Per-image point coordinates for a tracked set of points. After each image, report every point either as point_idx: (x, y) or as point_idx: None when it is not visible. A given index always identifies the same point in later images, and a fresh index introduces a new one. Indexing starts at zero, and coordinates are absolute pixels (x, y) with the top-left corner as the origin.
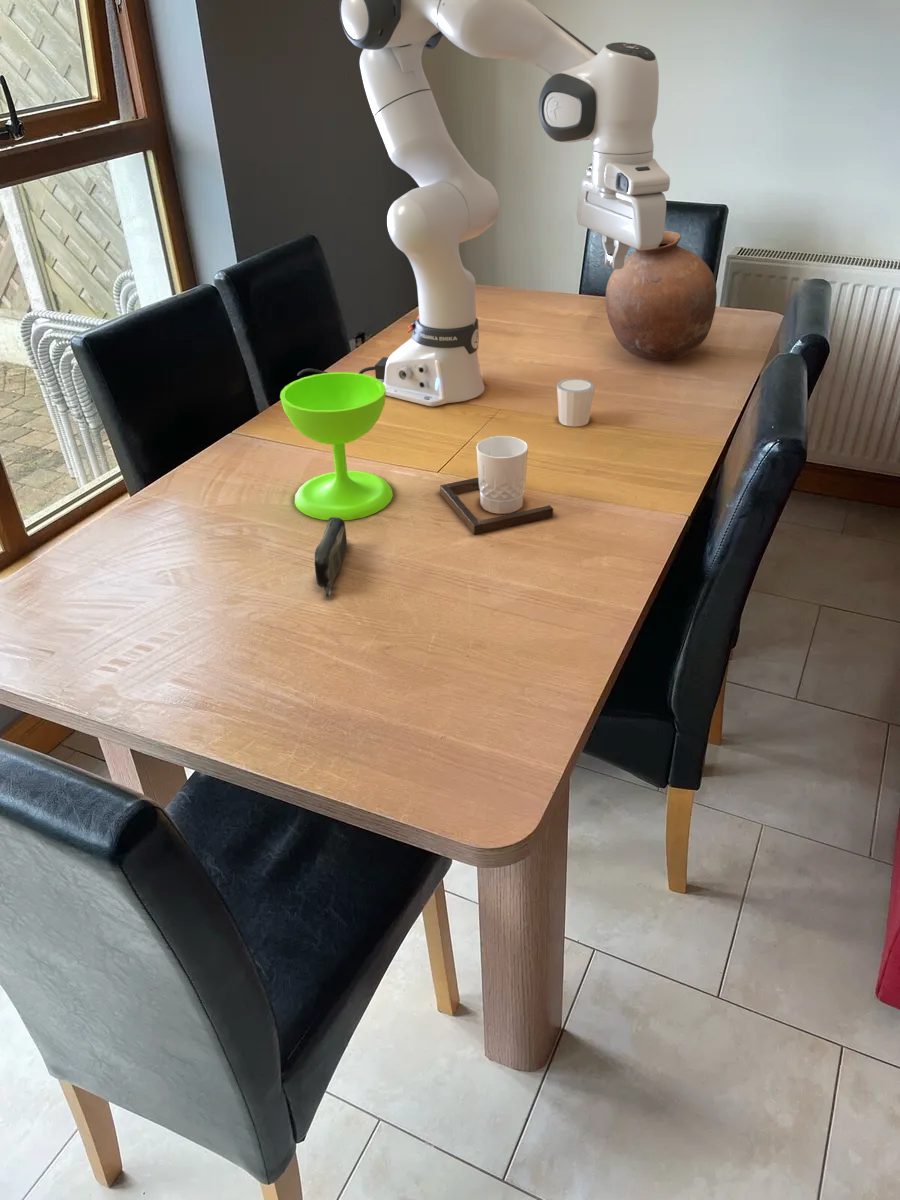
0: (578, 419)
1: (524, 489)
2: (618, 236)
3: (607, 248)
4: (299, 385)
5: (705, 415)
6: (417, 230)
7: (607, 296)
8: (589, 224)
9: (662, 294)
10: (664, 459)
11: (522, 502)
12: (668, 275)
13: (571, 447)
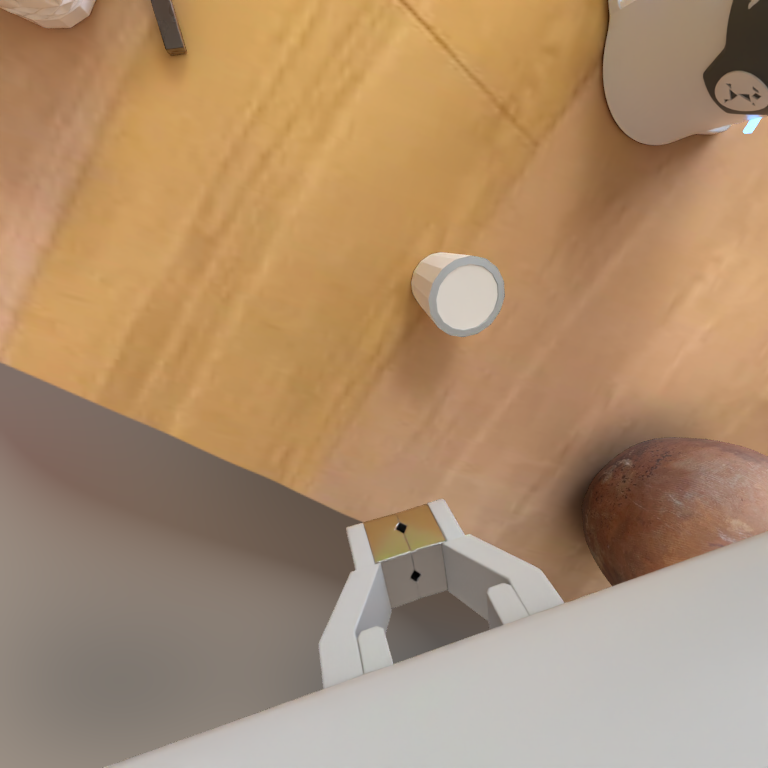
0: (414, 284)
1: (8, 11)
2: (251, 757)
3: (470, 567)
4: None
5: (393, 492)
6: None
7: (755, 459)
8: (737, 575)
9: (669, 553)
10: (241, 392)
11: (20, 16)
12: None
13: (323, 241)
